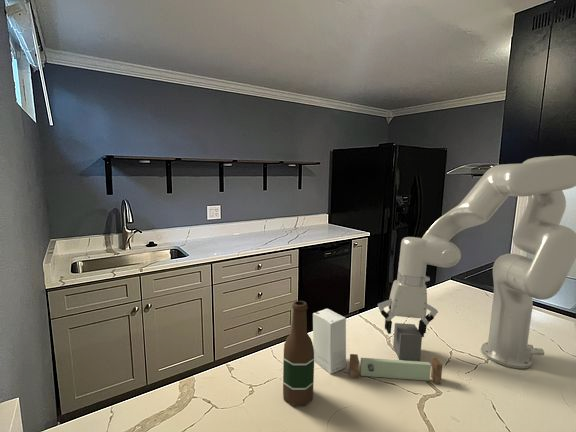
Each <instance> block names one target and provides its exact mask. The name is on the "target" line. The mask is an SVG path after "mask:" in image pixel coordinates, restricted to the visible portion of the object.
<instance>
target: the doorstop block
mask: <svg viewBox="0 0 576 432" xmlns="http://www.w3.org/2000/svg"><path fill="white" fill-rule="evenodd" d="M422 340H423V337H422V335H421V333H420V332H419V330H418V328H417V326H416V324H415V323H414V324H413V323H403V322H401V323H399V322H398V323H397V322H395V323H394V331H393V344H392V345H393V350H394V351H395V354H396V355H397V359H398V360H404V361H418V362H421V355H422V354H421V353H422V343H423V341H422Z"/></svg>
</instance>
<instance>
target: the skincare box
mask: <svg viewBox="0 0 576 432" xmlns="http://www.w3.org/2000/svg"><path fill="white" fill-rule="evenodd" d="M346 318H347V317H345V316H343V315H341V314H339V313H337V312H335V311H333V310H332V309H329V308H324V309H322V310H318V311H316V312H313V313H312V343H313V348H314V363H316V364H318V365H319V366H320V367H322V368H323V370H326V372H327V373H329V374H334V373H336V372H339V371H341V370H344V369H346V367H347V355H346V354H347V334H346V333H347V319H346Z"/></svg>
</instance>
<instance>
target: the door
mask: <svg viewBox="0 0 576 432" xmlns="http://www.w3.org/2000/svg"><path fill="white" fill-rule="evenodd" d="M359 365H360V366H359V368H360V369H359V373H360V374H359V375H360V376H363V377H372V378H373V377H374V378H375V377H376V378H387V379H389V378H390V379H402V380H417V381H427V382H428V381H430V379H431V370H432V363H430V362H428V361H410V360H399V359H390V358H389V359H385V358H369V357H360V363H359Z"/></svg>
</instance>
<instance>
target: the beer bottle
mask: <svg viewBox="0 0 576 432" xmlns="http://www.w3.org/2000/svg"><path fill="white" fill-rule="evenodd" d="M291 309H292V311H293V312H292V321H291V322H292V323H291V330H290V333H289V335H288V336H287V337H286V339H285V341H284V344H283V367H282V368H283V376H282V398H283V401H284V402H286V403H287V404H289V405H290V406H292V407H306V406H307V405H308V404H309V403H311V401H313V398H314V382H315V381H314V380H315V379H314V378H315V373H314V372H315V361H314V348H313V339H312V338H311V337H310V335H309V334H308V320H307V317H308V316H307V310H308V309H309V307H308V304H307V302H306V301H303V300H296V301H293V303H292V307H291Z"/></svg>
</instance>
